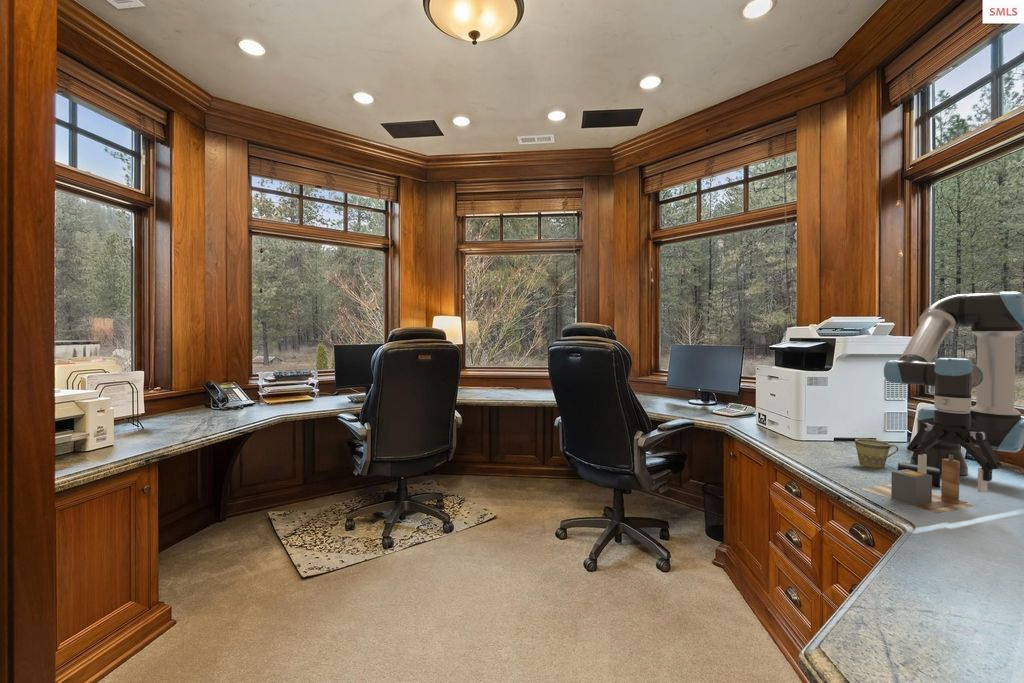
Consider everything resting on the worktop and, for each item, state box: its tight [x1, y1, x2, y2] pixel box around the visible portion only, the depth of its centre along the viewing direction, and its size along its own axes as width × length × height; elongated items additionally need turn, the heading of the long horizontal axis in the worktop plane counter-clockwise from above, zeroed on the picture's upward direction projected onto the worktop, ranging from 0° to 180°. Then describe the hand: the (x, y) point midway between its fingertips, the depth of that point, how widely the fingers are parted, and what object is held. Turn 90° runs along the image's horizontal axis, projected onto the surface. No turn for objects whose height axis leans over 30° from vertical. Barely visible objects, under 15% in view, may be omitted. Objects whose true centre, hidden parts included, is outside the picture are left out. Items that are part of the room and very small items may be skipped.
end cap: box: [897, 462, 941, 488], centre depth 140 cm, size 10×7×7 cm
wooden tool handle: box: [940, 455, 961, 504], centre depth 123 cm, size 4×4×14 cm
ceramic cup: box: [854, 438, 899, 469], centre depth 157 cm, size 13×10×10 cm
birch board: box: [861, 483, 977, 514], centre depth 127 cm, size 18×19×1 cm
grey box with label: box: [890, 469, 933, 506], centre depth 124 cm, size 7×6×8 cm
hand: (950, 483), depth 123 cm, fingers open, 13 cm apart
